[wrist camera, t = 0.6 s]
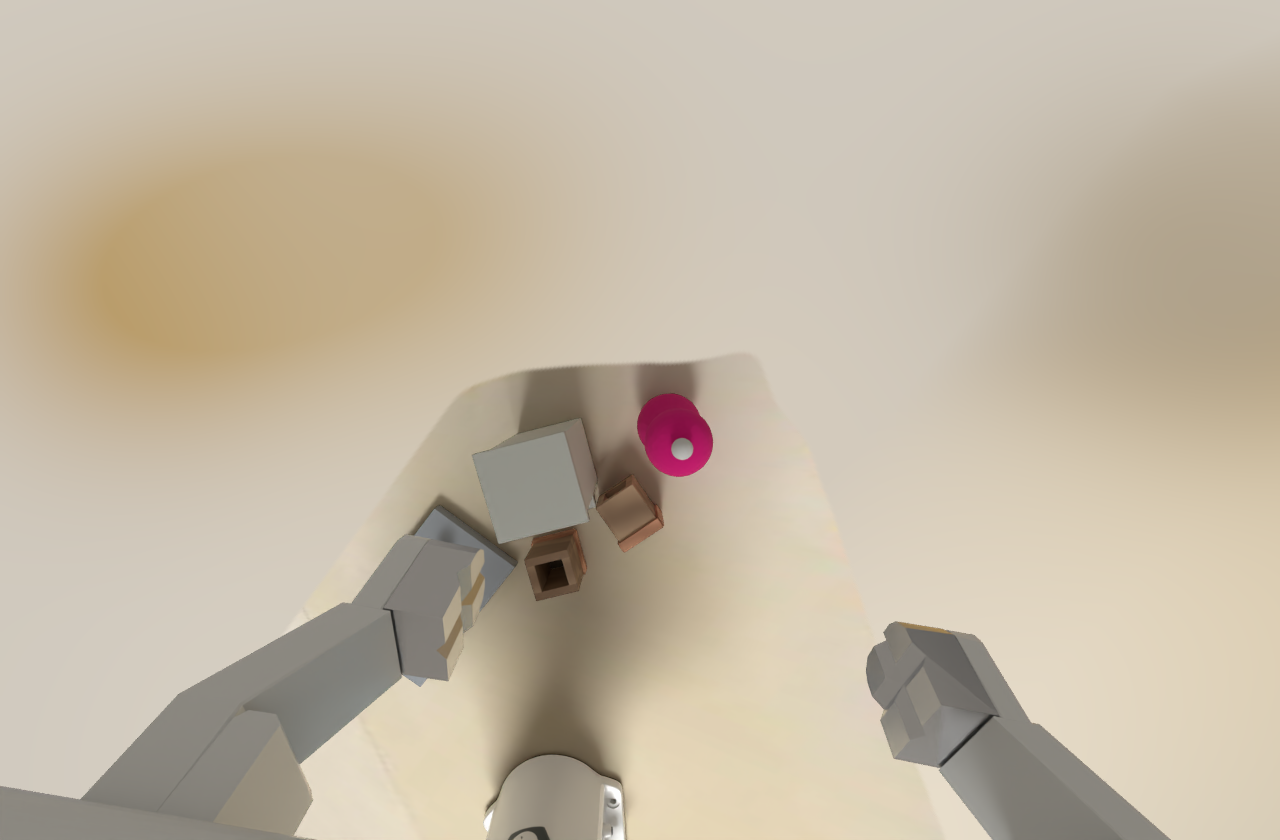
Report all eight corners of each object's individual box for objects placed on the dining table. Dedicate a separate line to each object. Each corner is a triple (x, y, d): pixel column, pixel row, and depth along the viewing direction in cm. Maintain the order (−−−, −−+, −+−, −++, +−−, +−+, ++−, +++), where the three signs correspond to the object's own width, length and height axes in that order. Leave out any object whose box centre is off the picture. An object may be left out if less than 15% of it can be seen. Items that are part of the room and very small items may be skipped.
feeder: (606, 502, 58) (596, 549, 43) (539, 519, 58) (506, 571, 44) (582, 414, 57) (563, 431, 42) (514, 432, 57) (471, 455, 42)
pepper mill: (625, 417, 57) (618, 444, 37) (671, 379, 56) (690, 386, 37) (662, 462, 58) (676, 513, 38) (708, 425, 57) (747, 456, 37)
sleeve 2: (661, 511, 58) (664, 526, 53) (624, 536, 59) (623, 553, 53) (634, 472, 58) (634, 483, 52) (597, 497, 58) (593, 511, 53)
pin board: (517, 562, 59) (505, 582, 53) (425, 679, 61) (404, 710, 55) (439, 504, 58) (419, 519, 52) (348, 625, 60) (318, 651, 54)
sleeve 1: (587, 569, 59) (582, 592, 53) (544, 580, 59) (534, 604, 53) (575, 527, 58) (569, 546, 52) (532, 538, 59) (520, 558, 53)
